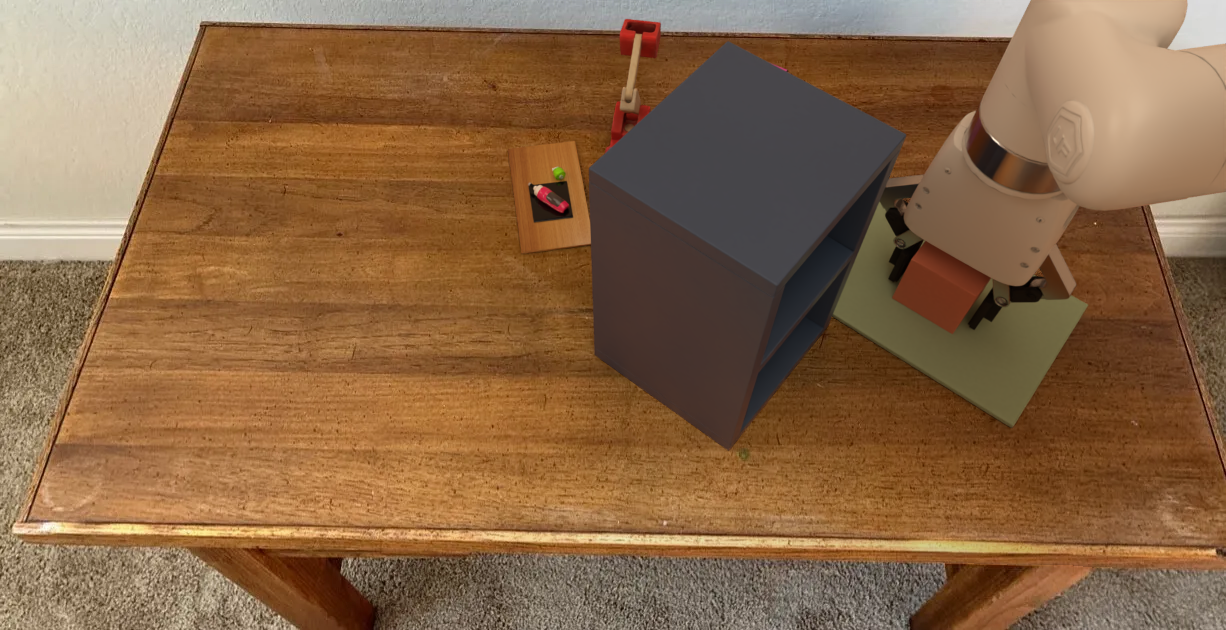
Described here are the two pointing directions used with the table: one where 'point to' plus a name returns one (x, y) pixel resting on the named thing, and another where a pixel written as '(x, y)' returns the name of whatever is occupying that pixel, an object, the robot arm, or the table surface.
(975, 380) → the play mat
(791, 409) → the table surface
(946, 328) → the toy block
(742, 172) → the shelf
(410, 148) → the table surface
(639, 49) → the toy fire truck
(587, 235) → the board
